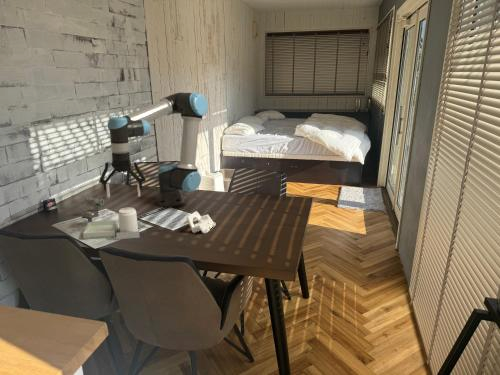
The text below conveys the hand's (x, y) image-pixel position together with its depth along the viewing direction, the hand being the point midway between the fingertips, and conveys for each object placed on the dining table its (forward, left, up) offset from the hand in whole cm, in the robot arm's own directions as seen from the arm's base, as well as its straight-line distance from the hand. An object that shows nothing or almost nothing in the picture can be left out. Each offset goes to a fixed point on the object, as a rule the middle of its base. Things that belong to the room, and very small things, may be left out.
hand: (124, 196), depth 162 cm
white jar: (-1, +1, -19) cm, 19 cm away
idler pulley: (+19, -13, -18) cm, 29 cm away
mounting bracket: (-36, +4, -19) cm, 40 cm away
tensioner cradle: (-1, +1, -18) cm, 18 cm away
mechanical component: (+18, -25, -19) cm, 36 cm away
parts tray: (+12, -3, -18) cm, 22 cm away
